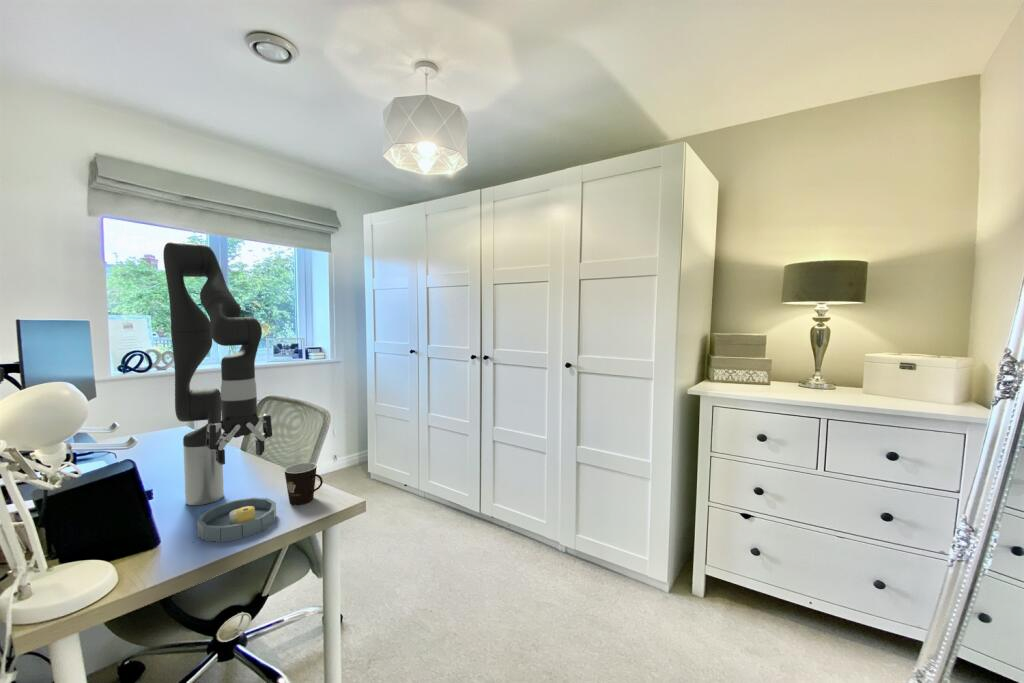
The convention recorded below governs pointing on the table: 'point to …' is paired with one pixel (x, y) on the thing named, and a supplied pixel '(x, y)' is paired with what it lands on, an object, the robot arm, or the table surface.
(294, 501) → the coffee mug
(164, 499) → the table surface
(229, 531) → the groove dish
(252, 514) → the bead
